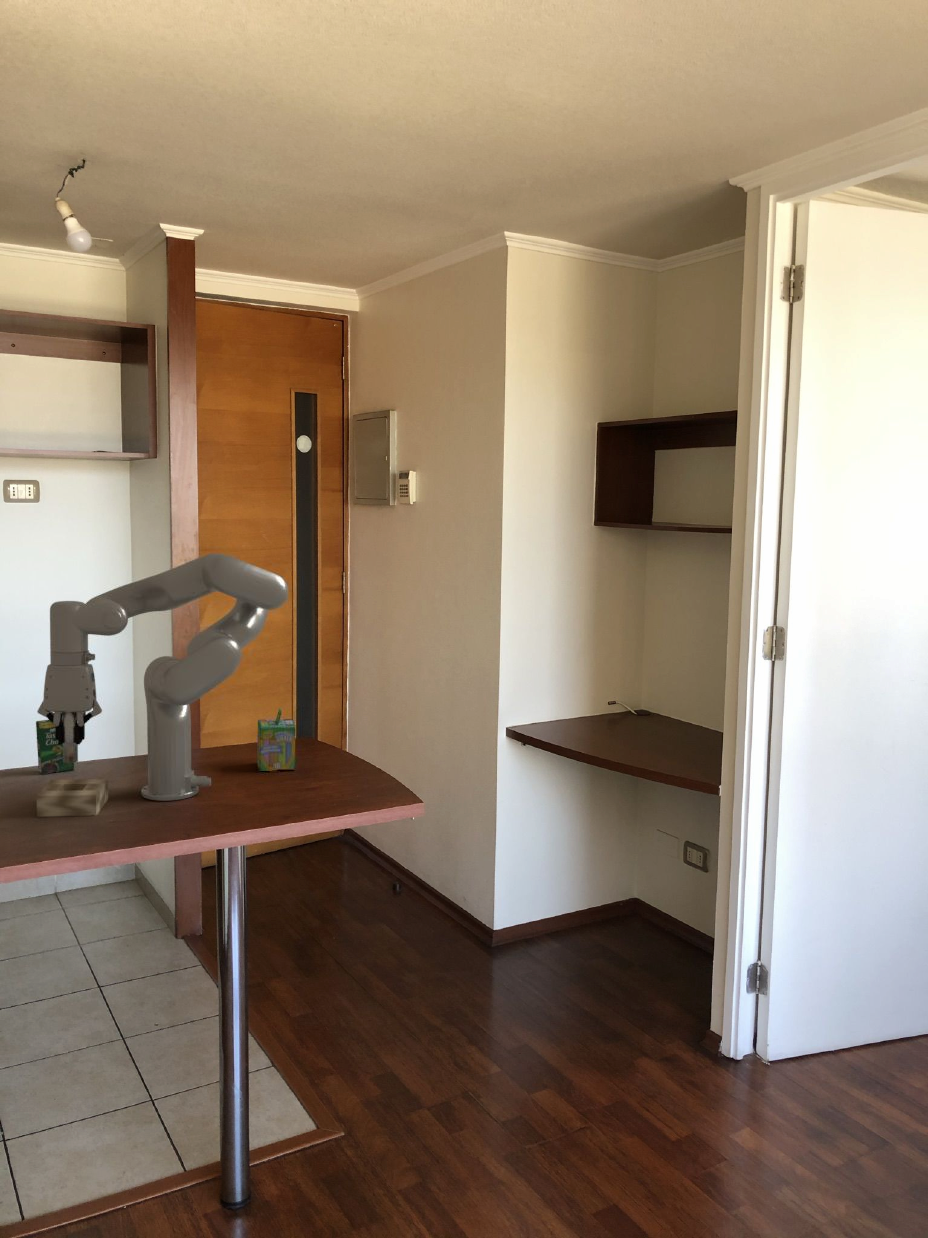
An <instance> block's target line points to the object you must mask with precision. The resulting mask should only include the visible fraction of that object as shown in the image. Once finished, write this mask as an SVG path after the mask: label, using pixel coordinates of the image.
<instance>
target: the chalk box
mask: <svg viewBox="0 0 928 1238" xmlns="http://www.w3.org/2000/svg"><path fill="white" fill-rule="evenodd" d="M281 715H282V709H281V708H280V707H279V708H278V712H277V715H276V718H271V719H267V718H266V719H265V718H264V719H258V720H257V749H256V751H257V752H256V763H257V767H258V768H257V769H258V772H259V771H270V772H273V771H272V770H278V769H295V770H296V724H295V722H294V719H293V718H290V719H289V718H281Z"/></svg>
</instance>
